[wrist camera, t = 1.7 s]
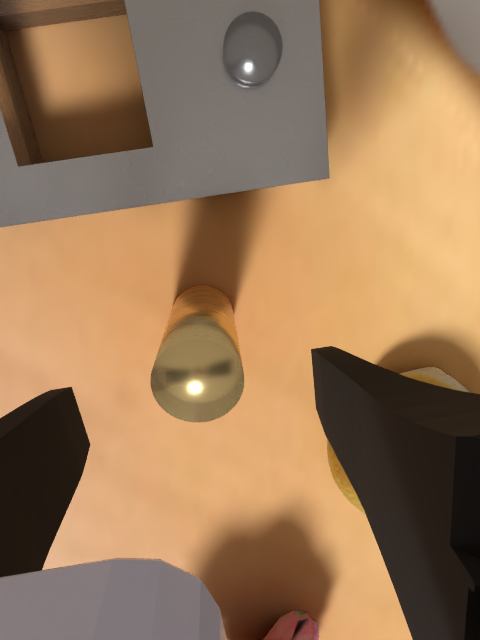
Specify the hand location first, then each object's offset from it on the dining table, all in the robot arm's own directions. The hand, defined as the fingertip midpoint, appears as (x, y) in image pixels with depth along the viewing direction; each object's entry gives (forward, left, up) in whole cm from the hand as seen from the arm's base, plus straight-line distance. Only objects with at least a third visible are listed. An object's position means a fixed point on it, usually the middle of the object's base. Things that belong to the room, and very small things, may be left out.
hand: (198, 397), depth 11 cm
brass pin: (0, 0, -8) cm, 8 cm away
